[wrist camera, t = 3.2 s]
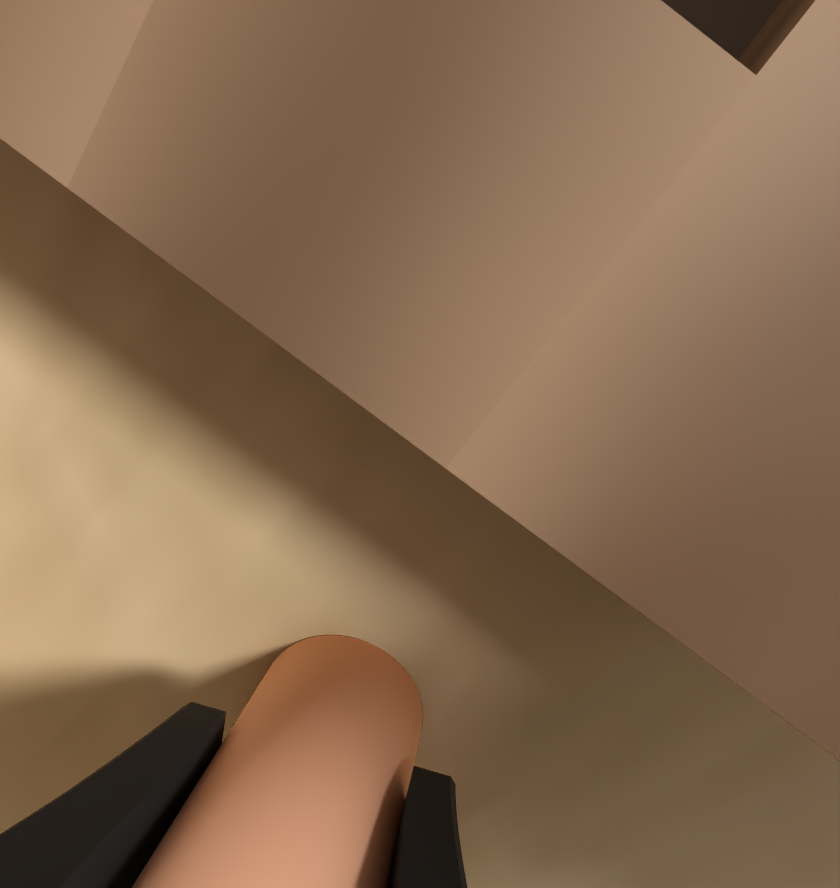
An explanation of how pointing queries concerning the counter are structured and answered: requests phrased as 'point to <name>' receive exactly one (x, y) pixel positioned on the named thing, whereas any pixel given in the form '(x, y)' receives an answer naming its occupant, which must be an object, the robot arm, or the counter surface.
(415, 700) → the peg
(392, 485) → the counter surface
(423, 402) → the socket board
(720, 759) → the counter surface
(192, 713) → the robot arm
